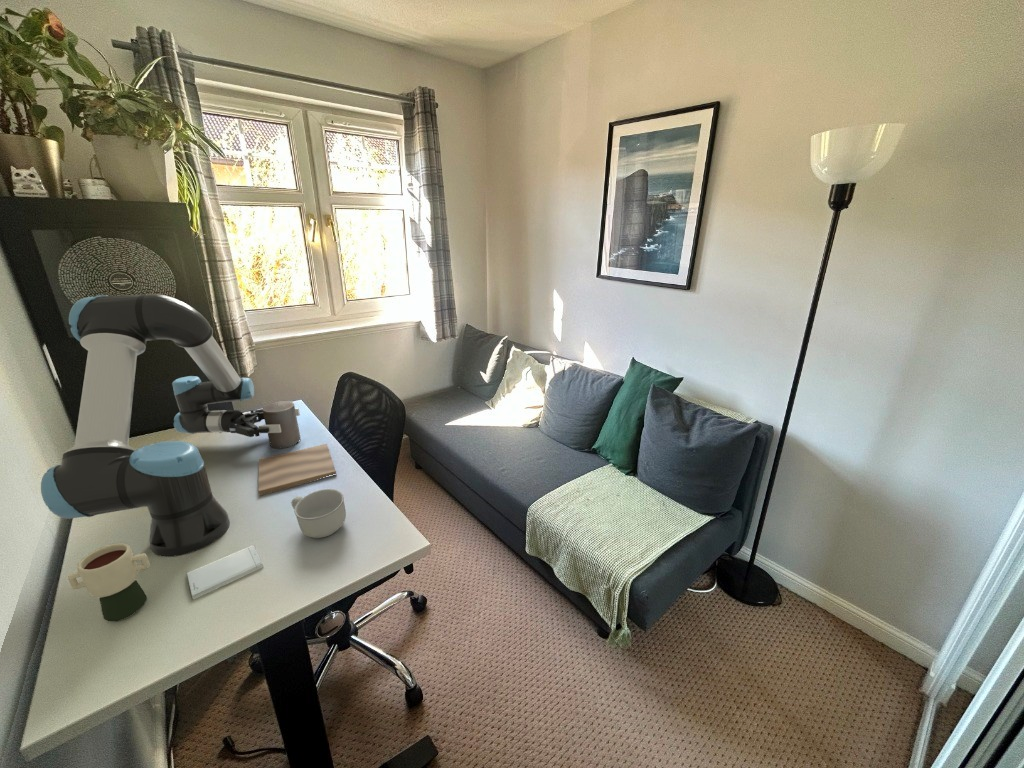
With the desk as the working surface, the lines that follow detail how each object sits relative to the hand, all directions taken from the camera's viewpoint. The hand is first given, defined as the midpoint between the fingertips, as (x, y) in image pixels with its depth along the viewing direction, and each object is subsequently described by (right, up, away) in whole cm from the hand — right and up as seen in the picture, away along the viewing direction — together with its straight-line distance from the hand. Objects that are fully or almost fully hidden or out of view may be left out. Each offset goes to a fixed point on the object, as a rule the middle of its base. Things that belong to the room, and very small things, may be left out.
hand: (290, 419), depth 141 cm
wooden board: (+10, -14, -14) cm, 22 cm away
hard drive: (+15, -29, -53) cm, 62 cm away
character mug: (+2, -31, -62) cm, 69 cm away
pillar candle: (-3, -8, +3) cm, 9 cm away
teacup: (+29, -23, -40) cm, 54 cm away
